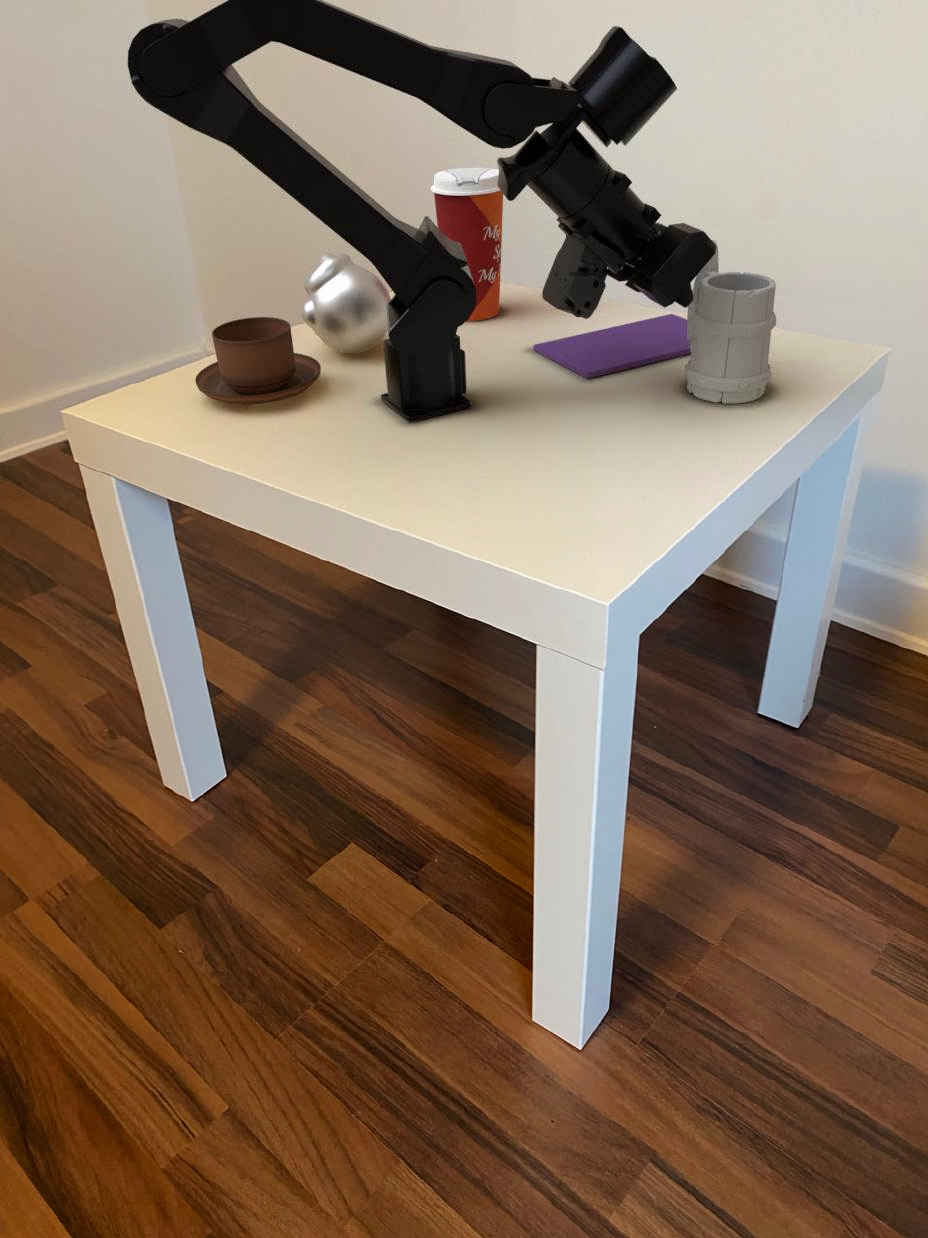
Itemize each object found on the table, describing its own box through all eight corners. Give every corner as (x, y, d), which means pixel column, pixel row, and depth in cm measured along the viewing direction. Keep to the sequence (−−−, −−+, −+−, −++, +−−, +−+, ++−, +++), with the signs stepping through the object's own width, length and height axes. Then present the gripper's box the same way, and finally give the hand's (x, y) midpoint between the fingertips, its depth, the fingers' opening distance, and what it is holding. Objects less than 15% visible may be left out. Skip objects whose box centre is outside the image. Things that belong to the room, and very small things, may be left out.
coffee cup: (509, 322, 110) (507, 178, 101) (436, 325, 110) (428, 182, 102) (507, 300, 117) (505, 164, 108) (439, 303, 117) (431, 167, 109)
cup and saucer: (178, 390, 96) (165, 328, 93) (285, 361, 102) (276, 301, 99) (233, 426, 88) (221, 360, 85) (346, 392, 94) (339, 328, 91)
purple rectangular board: (587, 378, 95) (587, 372, 94) (533, 350, 102) (533, 344, 102) (732, 343, 101) (732, 337, 101) (671, 318, 109) (671, 313, 108)
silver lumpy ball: (345, 331, 110) (335, 238, 104) (412, 345, 105) (405, 248, 99) (289, 356, 104) (275, 258, 98) (357, 371, 99) (346, 270, 93)
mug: (706, 410, 87) (721, 272, 80) (652, 366, 96) (661, 239, 90) (784, 398, 88) (805, 262, 82) (723, 356, 98) (737, 231, 91)
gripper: (483, 243, 91) (589, 342, 100) (562, 296, 77) (678, 406, 85) (562, 142, 89) (663, 252, 97) (659, 177, 74) (768, 303, 83)
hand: (688, 302), depth 91 cm, fingers closed
